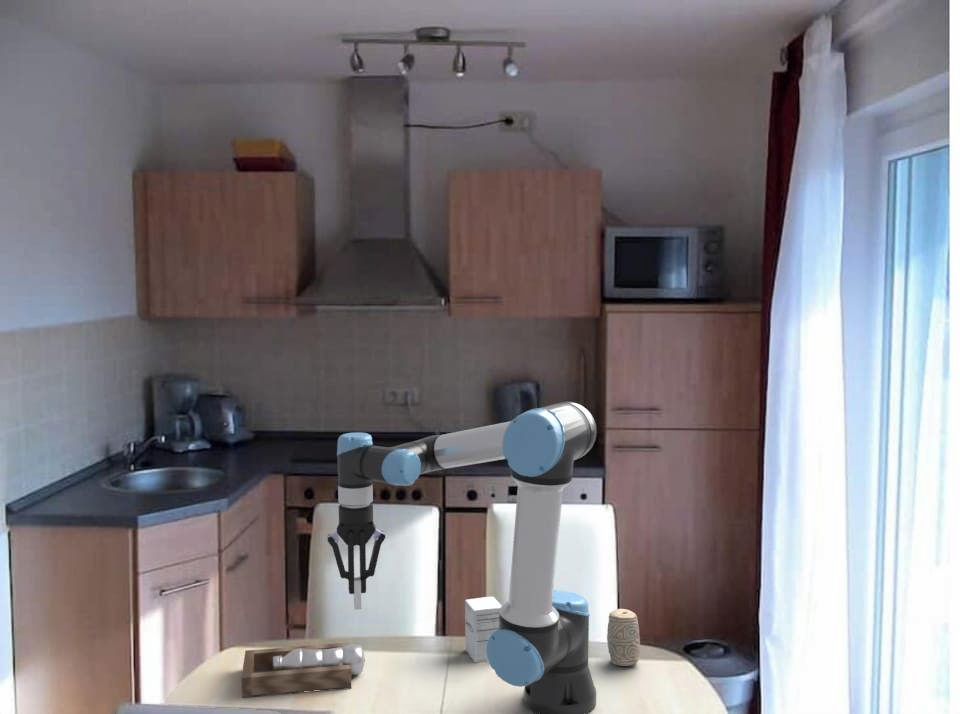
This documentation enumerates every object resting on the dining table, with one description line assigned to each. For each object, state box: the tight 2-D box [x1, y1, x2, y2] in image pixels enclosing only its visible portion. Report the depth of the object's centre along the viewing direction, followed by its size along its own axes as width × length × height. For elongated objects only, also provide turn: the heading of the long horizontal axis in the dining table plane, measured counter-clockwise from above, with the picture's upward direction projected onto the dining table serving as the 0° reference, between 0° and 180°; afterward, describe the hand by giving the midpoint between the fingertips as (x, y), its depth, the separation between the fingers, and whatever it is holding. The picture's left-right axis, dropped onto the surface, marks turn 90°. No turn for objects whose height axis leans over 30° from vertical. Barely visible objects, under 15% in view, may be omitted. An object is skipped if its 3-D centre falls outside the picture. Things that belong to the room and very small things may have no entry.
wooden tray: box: [240, 642, 352, 699], centre depth 208 cm, size 23×14×4 cm, turn 101°
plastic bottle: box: [273, 643, 366, 676], centre depth 208 cm, size 6×7×20 cm
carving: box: [606, 608, 641, 667], centre depth 214 cm, size 6×8×12 cm
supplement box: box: [464, 596, 503, 663], centre depth 219 cm, size 7×7×13 cm
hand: (357, 607), depth 209 cm, fingers closed
